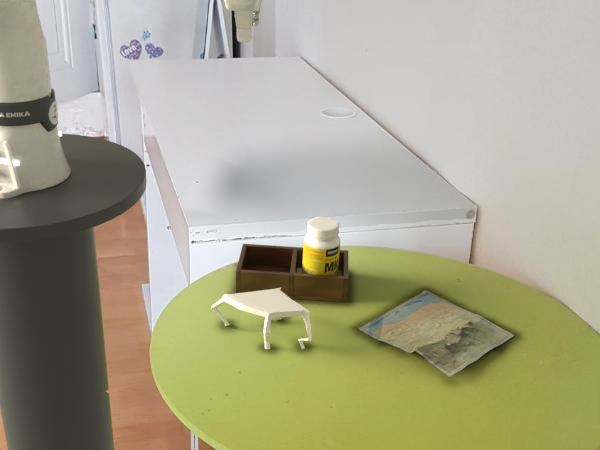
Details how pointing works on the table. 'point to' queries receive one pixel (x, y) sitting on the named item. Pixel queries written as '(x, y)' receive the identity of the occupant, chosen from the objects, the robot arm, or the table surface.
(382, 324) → the topographic map
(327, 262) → the supplement bottle
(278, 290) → the origami figure
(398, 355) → the table surface
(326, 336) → the table surface
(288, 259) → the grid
